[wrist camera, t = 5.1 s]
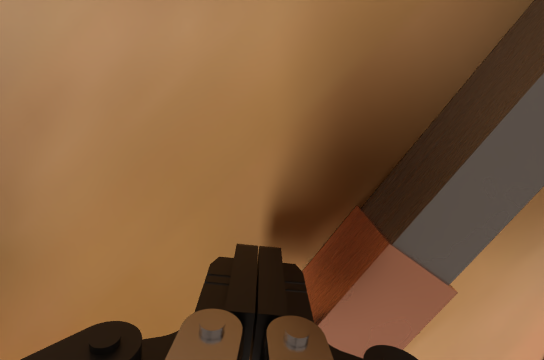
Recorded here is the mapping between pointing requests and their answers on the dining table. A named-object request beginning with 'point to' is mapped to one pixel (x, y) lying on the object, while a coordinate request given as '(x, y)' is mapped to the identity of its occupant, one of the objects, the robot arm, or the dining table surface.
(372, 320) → the tong arm
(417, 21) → the dining table surface
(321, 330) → the robot arm
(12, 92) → the dining table surface
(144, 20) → the dining table surface
